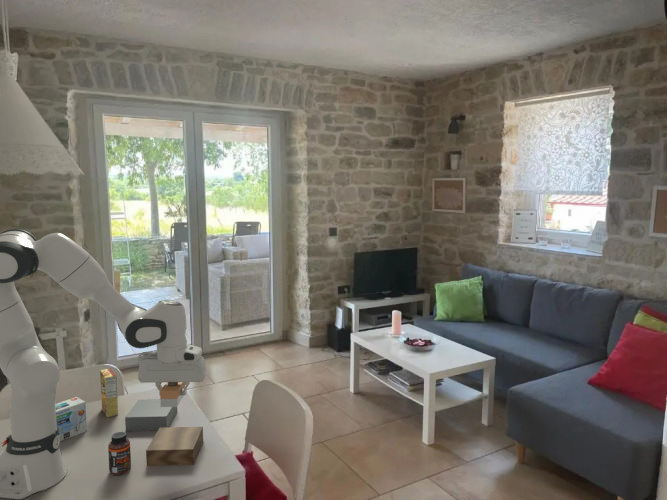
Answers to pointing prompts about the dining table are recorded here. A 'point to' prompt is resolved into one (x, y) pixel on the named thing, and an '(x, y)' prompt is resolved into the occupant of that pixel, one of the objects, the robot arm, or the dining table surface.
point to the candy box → (109, 392)
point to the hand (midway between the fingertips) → (173, 394)
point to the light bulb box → (71, 418)
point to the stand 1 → (149, 416)
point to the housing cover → (171, 390)
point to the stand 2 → (175, 446)
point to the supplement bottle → (119, 454)
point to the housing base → (171, 401)
